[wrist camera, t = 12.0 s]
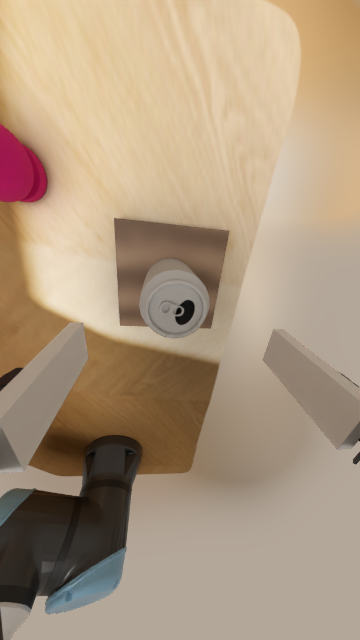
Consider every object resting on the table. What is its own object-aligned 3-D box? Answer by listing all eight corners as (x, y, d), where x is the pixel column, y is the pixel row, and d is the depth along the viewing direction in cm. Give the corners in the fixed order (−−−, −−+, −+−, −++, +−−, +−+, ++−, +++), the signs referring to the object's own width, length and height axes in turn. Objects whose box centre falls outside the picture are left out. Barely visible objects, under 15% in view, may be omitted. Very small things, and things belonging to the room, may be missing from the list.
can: (182, 310, 30) (195, 352, 20) (139, 295, 29) (127, 333, 18) (200, 268, 28) (227, 290, 17) (154, 249, 26) (151, 260, 15)
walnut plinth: (206, 321, 35) (210, 328, 33) (123, 318, 33) (120, 325, 30) (222, 231, 28) (229, 231, 26) (118, 219, 26) (114, 218, 24)
